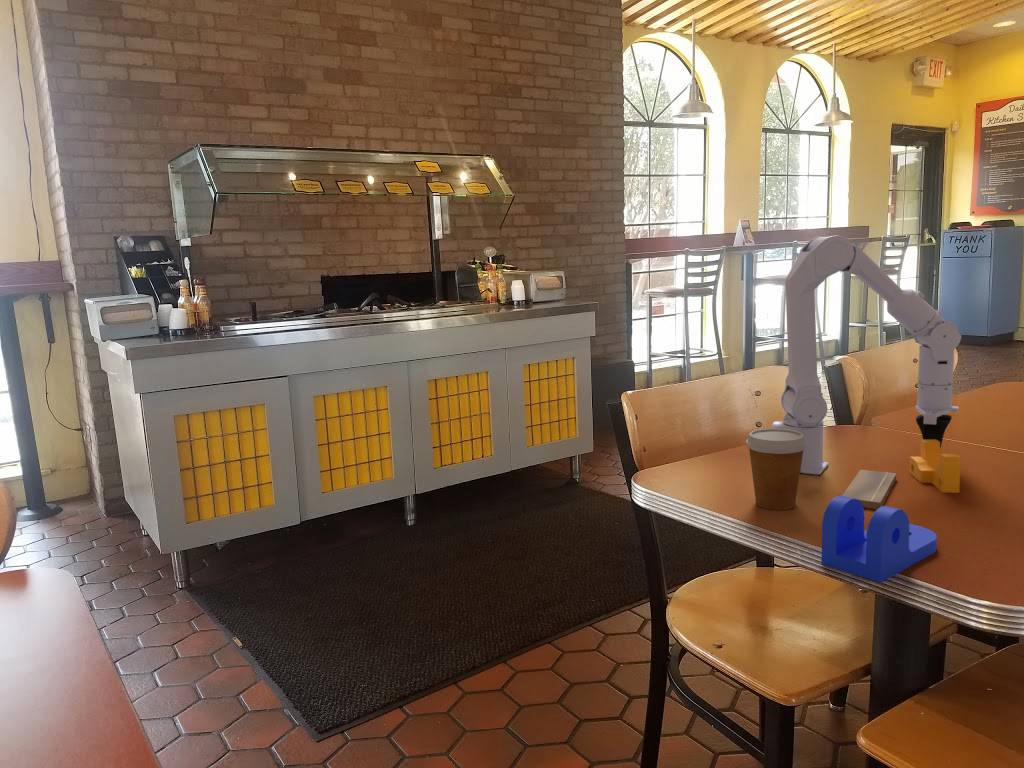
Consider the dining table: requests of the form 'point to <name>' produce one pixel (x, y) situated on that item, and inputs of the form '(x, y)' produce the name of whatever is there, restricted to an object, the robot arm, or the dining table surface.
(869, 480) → the board
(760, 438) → the disposable coffee cup
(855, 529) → the bracket
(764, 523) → the dining table surface
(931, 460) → the pipe clamp
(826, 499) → the dining table surface
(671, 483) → the dining table surface
